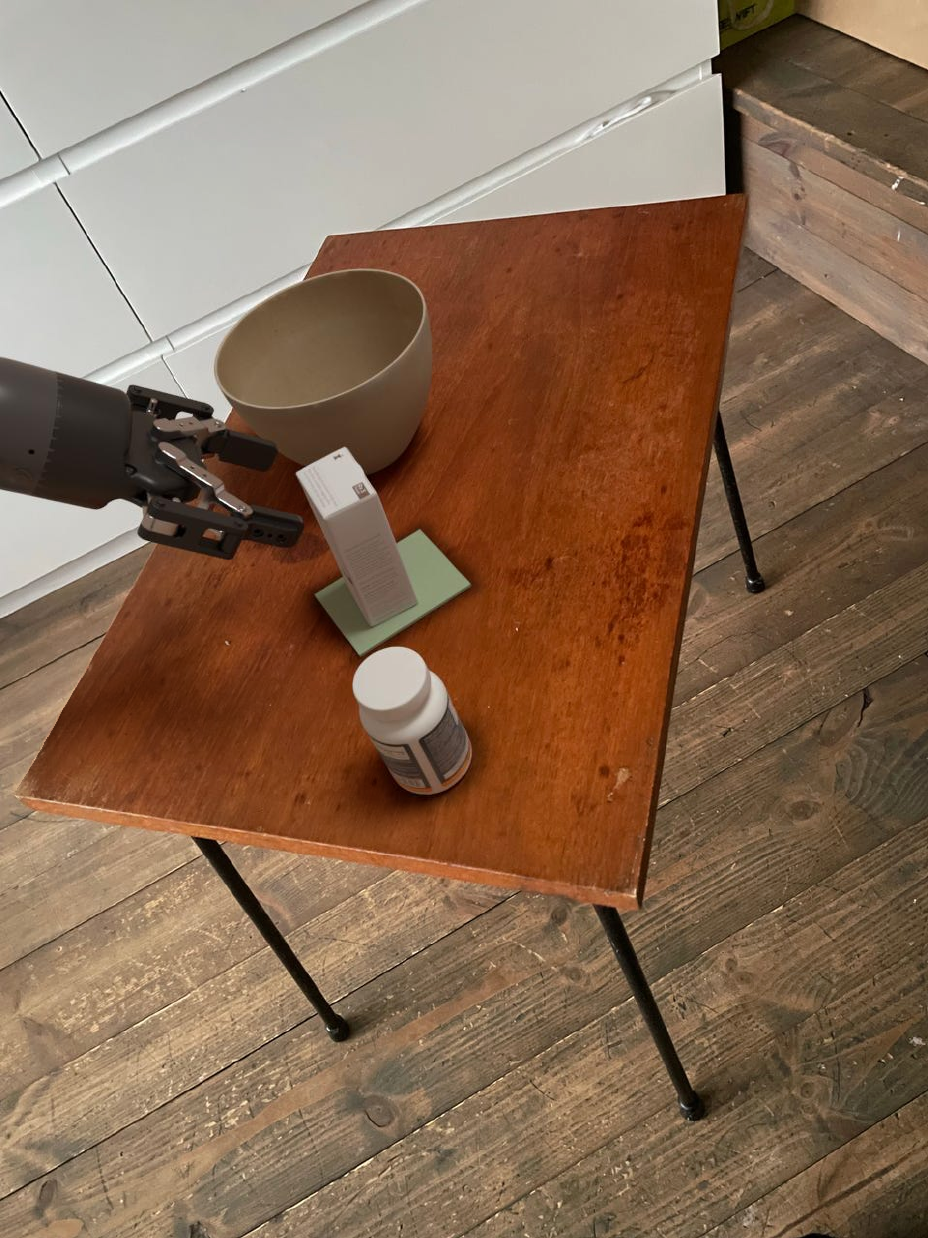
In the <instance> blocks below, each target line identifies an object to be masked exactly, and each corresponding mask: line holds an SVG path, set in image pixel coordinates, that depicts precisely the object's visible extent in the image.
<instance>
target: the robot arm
mask: <svg viewBox="0 0 928 1238" xmlns="http://www.w3.org/2000/svg"><path fill="white" fill-rule="evenodd" d="M214 412H215V409H214V407H213V406H212V405H211V404H209V403H207V402H204V401H200V400H196V399H192V398H189V397H184V396H180V395H177V394H172V393H169V392H165V391H160V390H157V389H152V388H149V387H145V386H142V385H138V384H129V385H128V388H127V389H126V392H125V391H123V390H122V389H120V388H116V387H113V386H110V385H106V384H102V383H98V382H95V381H91V380H88V379H85V378H80V377H77V376H75V375H69V374H67V373H63V372H60V371H56V370H53V369H50V368H45V367H42V366H39V365H35V364H31V363H28V362H24V361H20V360H17V359H13V358H10V357H5V356H0V490H1V491H5V492H11V493H15V494H20V495H25V496H28V497H33V498H38V499H43V500H47V501H52V502H55V503H56V502H57V503H60V504H65V505H71V506H76V507H80V508H84V509H90V510H95V511H96V510H101V509H103V508H105V507H107V505H108V504H109V503H111V502H113V501H116V500H122V501H126V502H129V503H131V504H133V505H136V506H137V507H139V508H140V509H141V508H142V519H141V521H140V524H139V527H138V528H137V531H136V532H137V536H138V537H139V538H140V539H142V540H143V541H146V542H150V543H154V544H158V545H162V546H167V547H170V548H174V549H179V550H183V551H188V552H191V553H196V554H200V555H204V556H209V557H212V558H217V559H221V560H224V561H231V560H233V559H234V557H235V556H236V554H237V551H238V550H239V547H240V546H241V543H242V542H243V541H249V542H252V543H258V544H262V545H268V546H271V547H273V546H274V547H277V548H281V549H286V548H293V547H294V546H295V545H297V543H298V541H299V539H300V537H301V535H302V533H303V532H304V529H305V523H304V521H303V518H302V517H301V516H300V515H299V514H295V513H290V512H286V511H282V510H277V509H274V508H269V507H265V506H260V505H256V504H252V503H250V505H249V504H247V503H245V502H244V501H243V500H241V499H239V498H238V497H236V496H234V495H233V494H232V493H230V492H229V491H227V490H226V489H225V483H224V482H223V480H222V479H220V478H219V477H217V476H216V475H214V474H212V473H211V472H210V471H208V468H207V466H206V465H205V464H206V463H204V461H203V460H207V459H212V458H214V457H215V456H217V459H218V461H219V462H223V463H226V464H230V465H235V466H238V467H242V468H246V469H250V470H254V471H257V472H261V473H265V472H268V471H270V470H271V468H272V467H273V464H274V462H275V460H276V458H277V456H278V453H279V452H278V449H277V447H276V444H275V443H274V442H273V441H270V440H266V439H262V438H260V437H259V436H255V435H251V434H248V433H244V432H240V431H237V430H233V429H230V428H228V425H227V424H226V423H225V422H224V421H223V420H220V419H218V418H214V417H213V415H214ZM179 413H184V414H190V415H192V416H187V417H181V418H177V416H178V414H179ZM200 493H201V495H200ZM199 496H200V497H199ZM198 498H199V500H198ZM196 499H197V500H198V502H197V503H196V504H197V505H196V506H195V505H191V504H188V503H191V502H193V501H195V500H196ZM216 505H217V506H218V507H220V508H222V509H223V510H225V511H226V512H227V513H229V514H225V513H221V512H218V511H214V509H215V507H216ZM206 531H208V532H210V533H211V534H213V535H214V536H216V537H218V539H215V538H212V537H207V536H204V534H205V532H206Z"/></svg>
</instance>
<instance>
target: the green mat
mask: <svg viewBox="0 0 928 1238" xmlns="http://www.w3.org/2000/svg"><path fill="white" fill-rule="evenodd" d="M396 544H397V547H398V549H399V552H400V555H401V557H402V560H403V563H404V565H405V568H406V570H407V573H408V576H409V578H410V581H411V584H412V586H413V589H414V591H415V594H416V597H417V600H418V603H417V604H415V605H413V606H412V607H410V608H408V609H407V610H405V611H403V612H401V613H399V614H398V615H396V616H394V617H392V618H390V619H388V620H386V621H384V622H382V623H379V624H377V625H375V626H370V625H369V623H368V622H367V620H366V619H365V617H364V616H363V614H362V612H361V611H360V609H359V607H358V605H357V604H356V602H355V600H354V598H353V596H352V594H351V592H350V590H349V588H348V586H347V584H346V582H345V580H344V578H343V576H342V577H340V578H339V579H337V580H336V581H334V582H332V583H330V584H329V585H327V586H326V587H324V588H323V589H321V590H319V591H317V592H316V593H314V597H315V598H316V599H317V601H318V602H319V604H320V606H322V607H323V609H324V610H325V612H326V613H327V614H328V616H329V618H330V619H331V620H332V621H333V622H334V624H335V625H336V626H337V629H339V630H340V632H341V633H342V634H343V636H344V638H346V641H348V643H349V644H350V646H351V647H352V648H353V649H354V651H355V652H356V653H357V655H358V656H359V658H362V657H364V656H366V654H368V653H370V652H371V651H372V650H374V649H376V648H378V647H379V646H380V645H383V644H384V643H385V642H387V641H388V640H390V639H391V638H393V637H394V636H396V635H398V634H399V633H401V632H402V631H404V630H405V629H407V628H409V627H410V626H412V625H414V624H415V623H417V622H418V621H420V620H421V619H423V618H424V617H426V616H427V615H430V613H432V612H434V611H436V610H437V609H438V608H440V607H442V606H443V605H445V604H446V603H448V602H449V601H451V600H452V599H454V598H455V597H458V596H459V595H460V594H462V593H463V592H465V591H467V590H468V589H470V588H471V587H472V584H471V582H469V580H468V579H467V578H466V577H465V576H464V575H463V574H462V572H460V571H459V569H458V568H456V567H455V565H454V564H453V563H452V561H450V560H449V559H448V558H447V556H446V555H445V554H444V553H443V552H442V551H441V550H440V549H439V548H438V547H437V546H436V544H434V543H433V542H432V540H430V538H429V537H428V536H427V535H426V534H425V533H424V532H423V530H422V529H420V528H419V529H418V530H416V531H414V532H412V533H411V534H409V535H408V536H406V537H404V538H403V539H401V540H400V541H398V542H396Z"/></svg>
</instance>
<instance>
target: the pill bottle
mask: <svg viewBox="0 0 928 1238" xmlns="http://www.w3.org/2000/svg"><path fill="white" fill-rule="evenodd" d="M352 693H353V696H354V698H355V700H356V702H357V704H358V706H359V707H358V714H359V719H360V723H361V725H362V727H363V729H364V731H365V732H366V735H368V738H369V739H370V741H371V742H372V744H373V746H374V747H375V748H376V750H377V752H378V754H379V756H380V757H381V760H382V761H383V763H384V764H385V766H386V768H387V769H388V771H389V773H390V775H391V776H392V777H393V779H394V780H395V782H396V783H397V784H398V785H399V786H400V787H402V788H403V789H405V790H406V791H408V792H410V793H413V794H417V795H429V796H430V795H436V794H438V793H442V792H444V791H446V790H449V789H450V788H452V787H453V786H454V785H456V784H457V783H458V782H459V781H460V780H461V779H462V778H463V777H464V775H465V774H466V773H467V771H468V769H469V766H470V764H471V760H472V756H473V754H472V753H473V748H472V743H471V741H470V738H469V736H468V733H467V730H466V729H465V727H464V725H463V722H462V720H461V718H460V716H459V714H458V712H457V710H456V708H455V706H454V703H453V701H452V699H451V697H450V694H449V692H448V690H447V687H446V686H445V684H444V682H443V680H442V679H441V678H440V677H439V676H438V675H436V673H434V672H433V671H431V670H430V669H429V668H428V665H427V664H426V662H425V660H424V659H423V657H422V656H421V655H420V653H418V652H416V651H414V650H413V649H411V648H408V647H405V646H390V647H386V648H385V647H384V648H383V649H379V650H378V651H376V652H373V653H372V654H370V655H369V656H367V657H366V658H365V659H364V660H363V661H362V662H361V663H360V665H359V666H358V667H357V669H356V671H355V673H354V675H353V679H352Z"/></svg>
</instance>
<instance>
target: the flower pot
mask: <svg viewBox="0 0 928 1238" xmlns="http://www.w3.org/2000/svg"><path fill="white" fill-rule="evenodd" d="M432 335H433V334H432V329H431V321H430V315H429V310H428V307H427V302H426V300H425V296H424V293H422V291H421V288H419V287H418V285H417V284H416V283H414V282H413V281H412V280H411V279H409V278H408V277H406V276H403V275H401V274H400V273H399V274H398V273H396V272H392V271H389V270H384V269H378V268H350V269H342V270H335V271H330V272H326V273H323V274H319V275H316V276H313V277H310V278H306V279H304V280H301V281H298V282H296V283H294V284H291V285H289V286H287V287H285V288H283V289H281V290H279V291H277V292H275V293H273V294H272V295H270V296H268V297H267V298H265V299H264V300H262V301H260V302H259V303H257V304H256V305H255V306H254V307H252V308H251V309H249V310H248V312H246V313H245V314H244V315H243V316H242V317H241V318H239V319H238V321H237V322H235V323H234V324H233V326H231V328H230V330H229V331H228V332H227V333H226V334H225V336H224V338H223V339H222V341H221V342H220V344H219V346H218V349H217V351H216V354H215V358H214V362H213V373H214V378H215V382H216V384H217V386H218V388H219V389H220V391H221V393H222V394H223V396H224V397H225V399H226V401H227V402H228V403H229V405H230V406H231V408H232V409H233V410H234V411H235V413H236V414H237V415H238V416H239V418H240V419H241V420H242V421H243V422H244V423H245V424H246V426H248V427H249V428H250V429H251V430H252V431H253V432H254V433H255V434H256V435H257V437H259V438H262V439H266V440H270V441H273V442H274V443H275V444H276V447H277V449H278V453H279V454H281V455H283V456H284V457H286V458H287V459H289V460H291V461H293V462H295V463H297V464H299V465H300V466H304V467H307V466H308V465H310V464H312V463H314V462H316V461H318V460H320V459H322V458H323V457H325V456H327V455H329V454H331V453H333V452H335V451H337V450H339V449H341V448H343V447H346V448H347V449H348V450H349V452H350V453H351V455H352V456H353V458H354V459H355V461H356V462H357V463H358V464H359V465H360V466H361V468H362V470H363V472H364V474H365V476H369V475H373V474H375V473H377V472H379V471H382V470H384V469H385V468H387V467H389V466H390V465H392V463H394V462H395V461H396V460H398V459H399V457H401V456H402V454H404V452H405V451H406V449H407V448H408V446H409V445H410V443H411V442H412V440H413V437H414V436H415V434H416V431H417V429H418V428H419V425H420V423H421V420H422V418H423V416H424V413H425V409H426V407H427V402H428V398H429V395H430V390H431V389H430V388H431V386H432V385H431V384H432V378H433V377H432V376H433V360H434V359H433V358H434V357H433V356H434V355H433V354H434V353H433V352H434V351H433V336H432Z"/></svg>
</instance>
